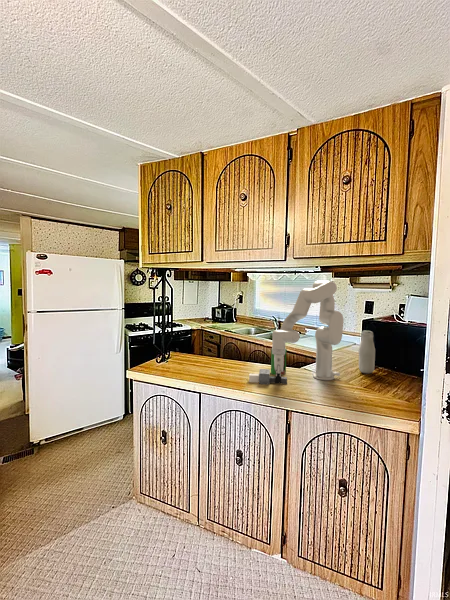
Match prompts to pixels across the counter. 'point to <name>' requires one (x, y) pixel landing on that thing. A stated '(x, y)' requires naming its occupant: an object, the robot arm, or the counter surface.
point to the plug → (272, 380)
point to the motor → (273, 363)
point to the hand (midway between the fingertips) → (278, 381)
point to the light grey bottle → (366, 352)
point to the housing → (264, 376)
